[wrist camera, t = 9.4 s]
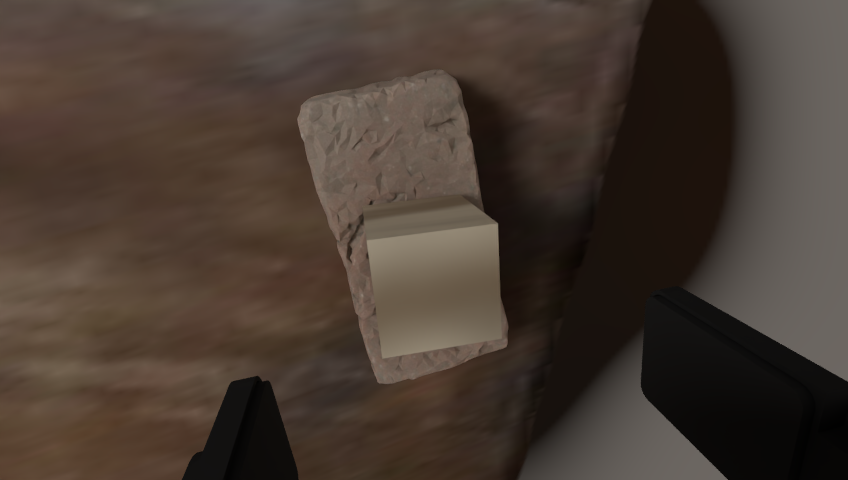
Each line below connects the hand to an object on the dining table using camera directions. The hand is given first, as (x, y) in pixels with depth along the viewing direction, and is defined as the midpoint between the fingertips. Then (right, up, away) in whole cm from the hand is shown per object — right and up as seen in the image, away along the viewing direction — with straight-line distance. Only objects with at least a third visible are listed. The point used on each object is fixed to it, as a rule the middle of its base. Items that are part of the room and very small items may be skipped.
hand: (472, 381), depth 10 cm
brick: (-2, +5, +16) cm, 17 cm away
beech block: (-2, +3, +12) cm, 12 cm away
